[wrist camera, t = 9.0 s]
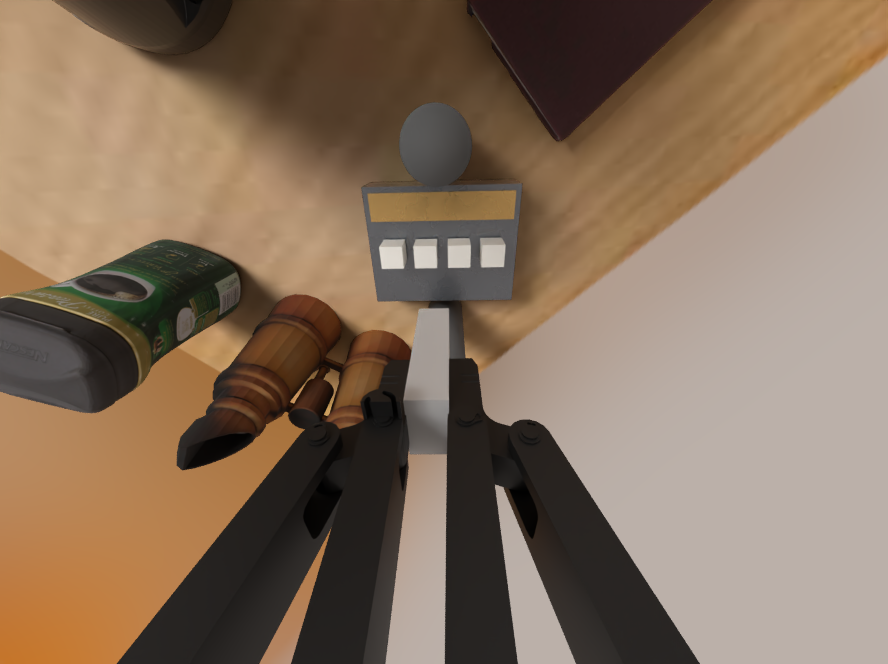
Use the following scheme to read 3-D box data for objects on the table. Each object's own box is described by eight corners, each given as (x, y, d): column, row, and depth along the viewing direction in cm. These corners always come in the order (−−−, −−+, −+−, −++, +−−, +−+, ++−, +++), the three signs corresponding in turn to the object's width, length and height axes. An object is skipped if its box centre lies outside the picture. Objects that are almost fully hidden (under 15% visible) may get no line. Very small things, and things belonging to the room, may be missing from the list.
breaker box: (371, 182, 31) (360, 187, 28) (514, 178, 31) (522, 183, 27) (384, 286, 37) (377, 302, 33) (505, 284, 36) (511, 300, 33)
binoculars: (423, 347, 41) (403, 494, 24) (396, 389, 45) (363, 542, 28) (282, 282, 37) (136, 404, 20) (266, 334, 41) (131, 475, 23)
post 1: (418, 119, 28) (395, 103, 16) (463, 118, 28) (472, 101, 16) (421, 169, 31) (402, 187, 18) (462, 168, 30) (471, 186, 18)
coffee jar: (158, 290, 38) (-56, 400, 22) (154, 227, 34) (-109, 304, 18) (243, 319, 39) (102, 439, 23) (248, 262, 36) (85, 359, 20)
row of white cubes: (383, 239, 30) (379, 247, 28) (501, 237, 29) (505, 244, 27) (386, 260, 31) (381, 268, 29) (500, 258, 30) (503, 266, 28)
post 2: (427, 293, 37) (417, 366, 25) (462, 293, 37) (467, 365, 25) (429, 323, 39) (420, 403, 27) (461, 323, 39) (466, 403, 27)
